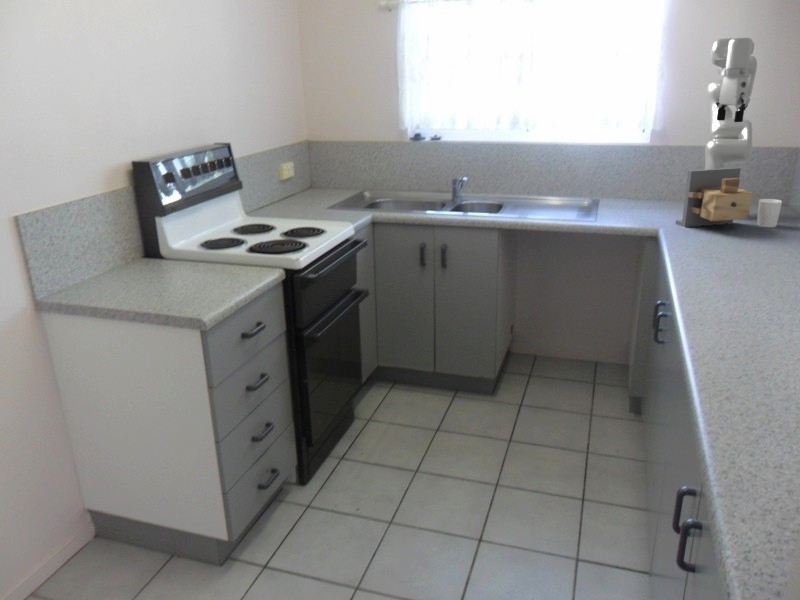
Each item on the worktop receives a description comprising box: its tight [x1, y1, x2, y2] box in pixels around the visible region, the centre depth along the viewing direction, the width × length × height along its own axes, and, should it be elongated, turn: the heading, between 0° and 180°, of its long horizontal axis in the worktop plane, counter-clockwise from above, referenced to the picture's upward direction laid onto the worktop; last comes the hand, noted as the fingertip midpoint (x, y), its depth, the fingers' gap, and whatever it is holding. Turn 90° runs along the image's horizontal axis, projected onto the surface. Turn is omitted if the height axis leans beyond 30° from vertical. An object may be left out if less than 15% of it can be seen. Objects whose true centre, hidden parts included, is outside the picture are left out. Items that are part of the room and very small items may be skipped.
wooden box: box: [699, 178, 754, 221], centre depth 253 cm, size 12×16×15 cm
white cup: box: [756, 198, 783, 228], centre depth 259 cm, size 8×8×10 cm
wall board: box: [675, 167, 741, 228], centre depth 261 cm, size 10×22×22 cm, turn 103°
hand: (729, 121), depth 250 cm, fingers open, 9 cm apart
